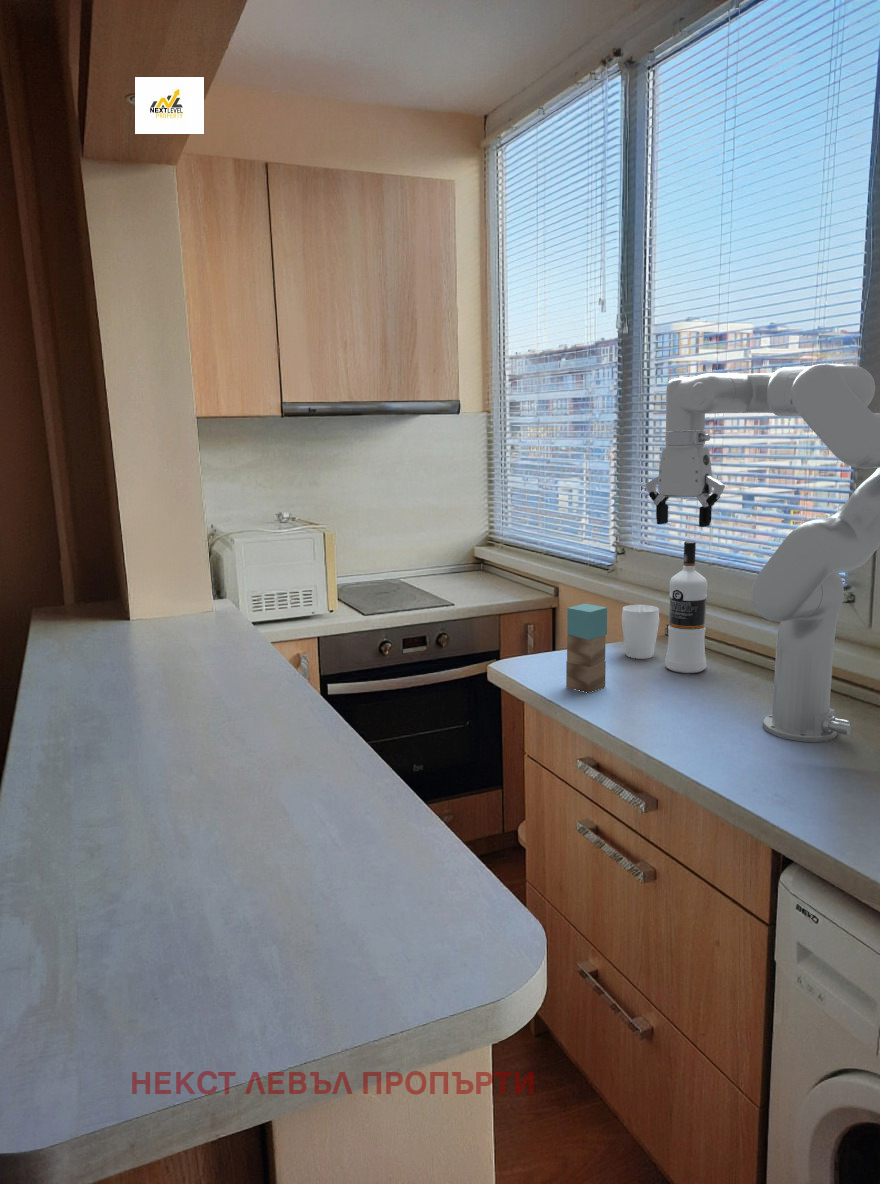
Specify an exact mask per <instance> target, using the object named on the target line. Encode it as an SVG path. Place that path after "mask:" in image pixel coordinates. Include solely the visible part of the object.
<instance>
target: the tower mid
mask: <svg viewBox="0 0 880 1184" xmlns="http://www.w3.org/2000/svg"><path fill="white" fill-rule="evenodd" d="M566 635H567V634H566ZM606 636H607V635H604V636H601V637H597V638H594V639H591V640H588V639H583V638H579V637H574V636H570V635H567V636H566V661H567V662H568V663H574V664H579V665H584V666H589V667H592V666H594V665H596V664H599V663H601V662H603V661H606V638H607V637H606Z"/></svg>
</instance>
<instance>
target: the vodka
mask: <svg viewBox="0 0 880 1184" xmlns="http://www.w3.org/2000/svg"><path fill="white" fill-rule="evenodd" d="M696 545H697V542H696V541H692V540H688V541H684V543H683V563H682V564H683V566H682V570H680V571H678V572H677V573H676V574H675V575H673V576H672V577H670V581H669V586H668V587H669V594H668V595H669V616H668V617H669V618H668V625H667V628H668V640H667V641H668V642H667V648H666V654H665V657H664V658H665V659H664V664H665V665H664V666H666V667H665V668H667V669H669V670H670V671H672V672H675V673H680V674H697V673H701V672H702V671H704V670H705V669H706V668H707V657H706V648H705V644H706V643H705V635H706V630H707V628H706V608H707V597H708V594H707V591H708V585H709V584H708V581H707V579H706V577H705V576H703V575H702V574H701V573H699V572H698V571H697V570H696V550H697V549H696V547H697V546H696Z"/></svg>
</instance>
